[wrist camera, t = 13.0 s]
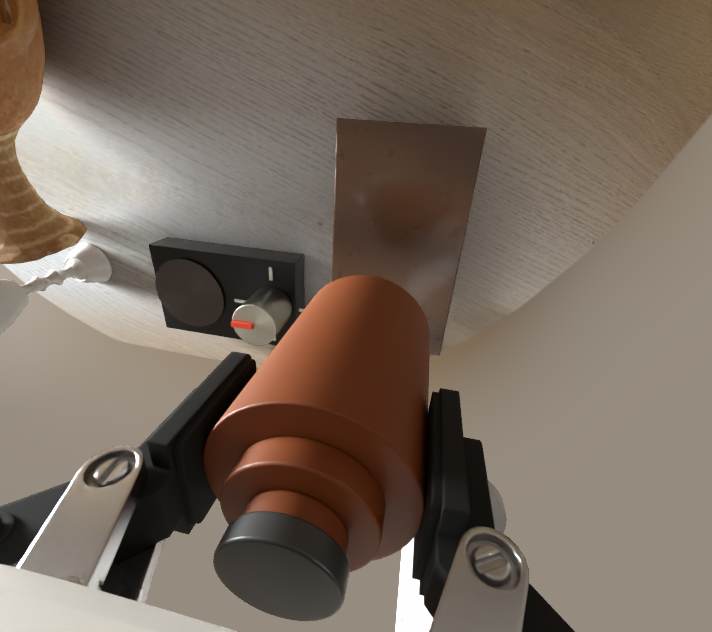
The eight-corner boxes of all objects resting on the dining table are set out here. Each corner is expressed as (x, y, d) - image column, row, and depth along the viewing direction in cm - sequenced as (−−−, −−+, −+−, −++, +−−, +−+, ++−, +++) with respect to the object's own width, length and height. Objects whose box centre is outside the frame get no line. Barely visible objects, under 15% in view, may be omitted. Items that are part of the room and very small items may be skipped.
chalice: (55, 241, 43) (-165, 304, 27) (95, 226, 41) (-118, 286, 25) (90, 295, 46) (-90, 381, 30) (129, 284, 43) (-43, 370, 28)
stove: (319, 337, 42) (311, 352, 39) (182, 315, 44) (165, 328, 41) (320, 256, 37) (311, 266, 34) (167, 237, 39) (147, 244, 37)
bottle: (419, 395, 16) (401, 685, 8) (304, 374, 17) (170, 616, 9) (440, 284, 14) (450, 530, 5) (304, 266, 15) (113, 452, 6)
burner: (228, 330, 40) (227, 331, 40) (164, 319, 41) (163, 321, 41) (220, 262, 36) (218, 263, 36) (150, 253, 37) (148, 254, 37)
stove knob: (291, 288, 36) (272, 309, 32) (293, 326, 38) (276, 350, 34) (251, 283, 36) (227, 303, 32) (255, 321, 39) (233, 344, 34)
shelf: (438, 303, 37) (439, 356, 28) (353, 291, 38) (329, 338, 29) (471, 129, 29) (487, 127, 20) (364, 122, 30) (336, 117, 22)
